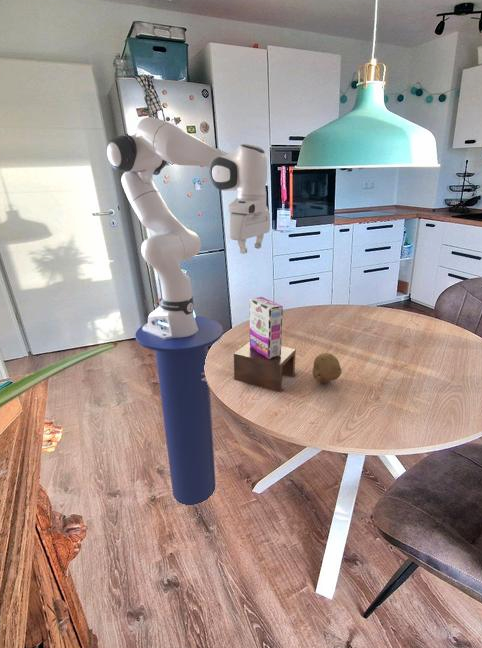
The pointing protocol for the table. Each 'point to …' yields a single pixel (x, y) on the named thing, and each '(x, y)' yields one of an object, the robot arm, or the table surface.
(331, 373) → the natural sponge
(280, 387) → the walnut shelf
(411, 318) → the table surface
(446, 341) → the table surface
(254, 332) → the candy bar box
